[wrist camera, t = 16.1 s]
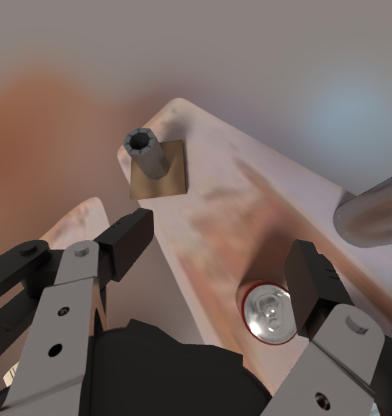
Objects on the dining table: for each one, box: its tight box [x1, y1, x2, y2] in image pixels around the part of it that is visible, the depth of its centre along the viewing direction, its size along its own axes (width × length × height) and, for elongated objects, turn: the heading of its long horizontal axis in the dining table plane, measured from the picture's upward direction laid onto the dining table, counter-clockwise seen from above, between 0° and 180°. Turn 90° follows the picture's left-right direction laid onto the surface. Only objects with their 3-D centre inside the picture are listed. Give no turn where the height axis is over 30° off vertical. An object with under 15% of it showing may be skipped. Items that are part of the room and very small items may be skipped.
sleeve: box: [123, 128, 170, 180], centre depth 40 cm, size 6×6×10 cm
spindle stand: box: [130, 140, 186, 200], centre depth 43 cm, size 13×14×7 cm
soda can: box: [236, 279, 297, 345], centre depth 29 cm, size 7×7×12 cm
